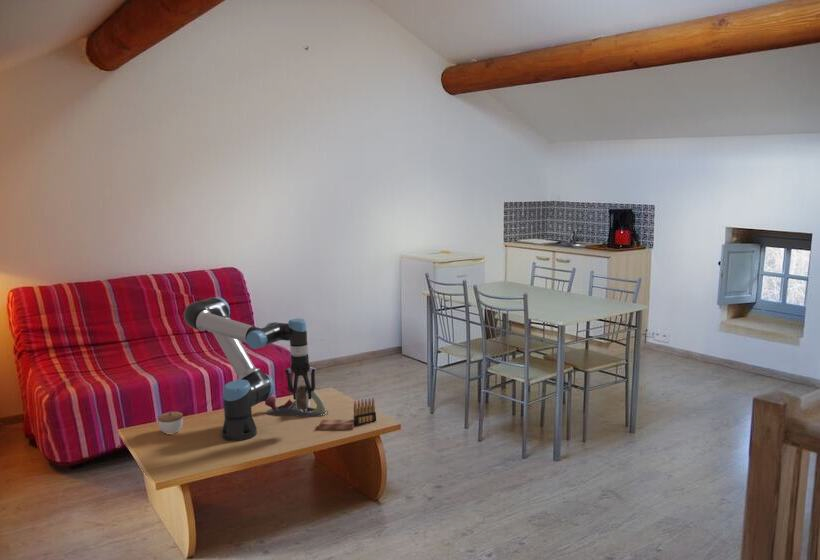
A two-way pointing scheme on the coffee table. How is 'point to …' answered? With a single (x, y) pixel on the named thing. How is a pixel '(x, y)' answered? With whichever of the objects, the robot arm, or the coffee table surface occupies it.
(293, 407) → the hand plane
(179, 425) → the lidded jar
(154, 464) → the coffee table surface
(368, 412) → the ammunition clip
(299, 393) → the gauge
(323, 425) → the board
